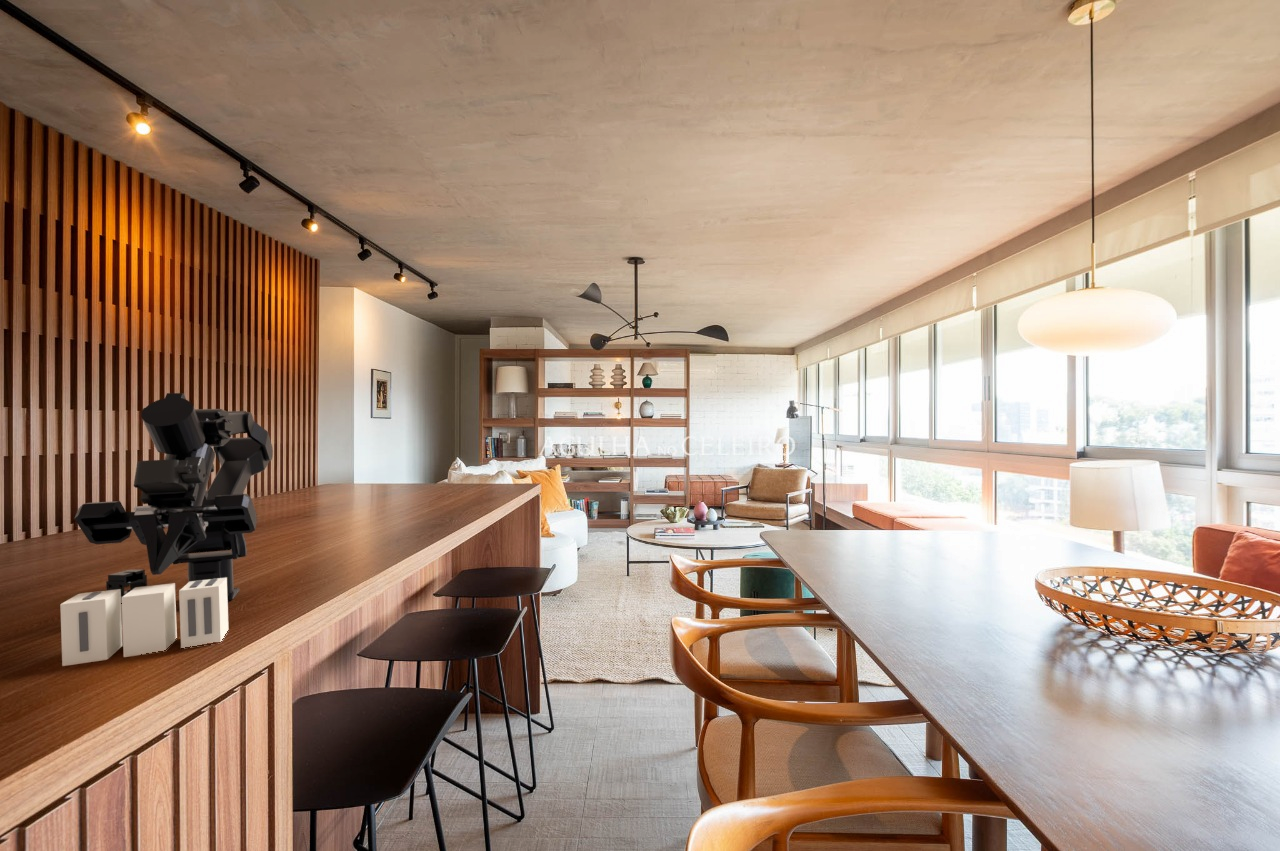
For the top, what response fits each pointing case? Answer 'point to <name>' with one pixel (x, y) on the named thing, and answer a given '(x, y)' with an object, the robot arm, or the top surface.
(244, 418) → the robot arm
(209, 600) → the marked block two
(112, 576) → the black angular block
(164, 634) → the plain block
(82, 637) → the marked block one
